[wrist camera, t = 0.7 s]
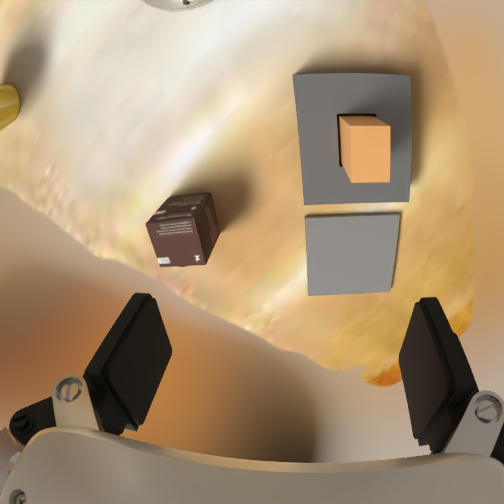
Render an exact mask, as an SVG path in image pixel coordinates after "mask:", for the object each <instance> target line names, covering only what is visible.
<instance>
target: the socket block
mask: <svg viewBox="0 0 504 504" xmlns="http://www.w3.org/2000/svg"><path fill="white" fill-rule="evenodd" d="M293 84H294V92H295V102H296V111H297V122H298V132H299V143H300V155H301V168H302V181H303V196H304V205H318V204H344V203H378V202H409V195H410V180H411V159H412V97H411V77H410V76H408V75H394V74H373V73H320V74H299V75H293ZM337 114H370V115H372V116H374V117H375V118H377V119H379V120H381V121H382V122H384V123H386V124H387V125H389V126H390V182H369V183H351V181H350V179H349V177H348V175H347V173H346V171H345V169H344V167H343V165H342V163H341V161H340V159H339V147H338V128H337Z"/></svg>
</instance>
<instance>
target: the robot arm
mask: <svg viewBox="0 0 504 504" xmlns="http://www.w3.org/2000/svg"><path fill="white" fill-rule="evenodd" d="M142 1H143V2H145V3H146V4H147V5H150V6H152V7H154V8H158V9H161V10H167V11H183V10H188V9H193V8H195V7H198V6H201V5H203V4H205V3H207V2H209V1H211V0H142ZM189 1H190V3H189V4H188V5H187V2H189ZM171 355H172V347H171V344H170V341H169V338H168V336H167V333H166V330H165V327H164V324H163V321H162V318H161V315H160V312H159V308H158V305H157V302H156V299H155V298H152V296H151V295H150V294H147V293H135V294H134V295H133V296H132V297H131V299H130V300H129V302H128V303H127V305H126V306H125V308H124V309H123V311H122V312H121V314H120V316H119V317H118V319H117V320H116V322H115V323H114V325H113V326H112V328H111V329H110V331H109V333H108V334H107V336H106V337H105V339H104V340H103V342H102V343H101V345H100V347H99V348H98V350H97V351H96V353H95V355H94V356H93V358H92V360H91V361H90V363H89V365H88V366H87V368H86V370H85V371H84V372H85V373H84V375H83V377H82V376H80V375H77V374H69V375H66V376H64V377H62V378H60V379H59V380H58V381H57V382H56V383H55V385H54V387H53V389H52V396H51V397H49V398H47V399H44V400H42V401H40V402H37V403H35V404H32V405H30V406H28V407H25V408H23V409H21V410H19V411H17V412H16V413H15V414H14V415H13V416H12V418H11V420H10V424H9V429H7V428H6V427H5V428H3V429H2V430H1V431H0V504H504V401H503V400H502V399H501V397H500V396H499V395H497V394H496V393H494V392H491V391H481V392H479V390H478V387H477V384H476V381H475V379H474V376H473V373H472V370H471V368H470V365H469V363H468V360H467V358H466V355H465V353H464V350H463V348H462V346H461V343H460V341H459V338H458V336H457V335H456V334H455V333H454V332H453V331H452V329H451V327H450V324H449V322H448V320H447V318H446V315H445V313H444V311H443V309H442V307H441V305H440V303H439V301H438V299H437V298H436V297H427V298H421V299H420V301H419V302H416V303H415V306H414V309H413V313H412V316H411V319H410V323H409V326H408V329H407V332H406V335H405V338H404V341H403V344H402V347H401V350H400V353H399V365H400V369H401V374H402V379H403V383H404V388H405V393H406V398H407V402H408V408H409V413H410V419H411V425H412V431H413V437H414V438H415V439H418V443H419V446H423V445H429V446H430V450H431V453H430V455H423V456H415V457H407V458H399V459H389V460H377V461H365V462H347V463H286V462H268V461H255V460H244V459H235V458H226V457H219V456H212V455H206V454H199V453H193V452H188V451H182V450H177V449H172V448H167V447H162V446H158V445H154V444H149V443H145V442H141V441H137V440H133V439H129V438H125V437H123V434H122V433H123V431H124V428H126V429H129V430H133V431H137V429H138V427H139V425H142V424H143V423H144V421H145V418H146V416H147V413H148V411H149V408H150V406H151V403H152V401H153V399H154V396H155V394H156V391H157V388H158V386H159V384H160V382H161V379H162V377H163V374H164V372H165V370H166V367H167V365H168V362H169V360H170V358H171Z"/></svg>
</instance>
